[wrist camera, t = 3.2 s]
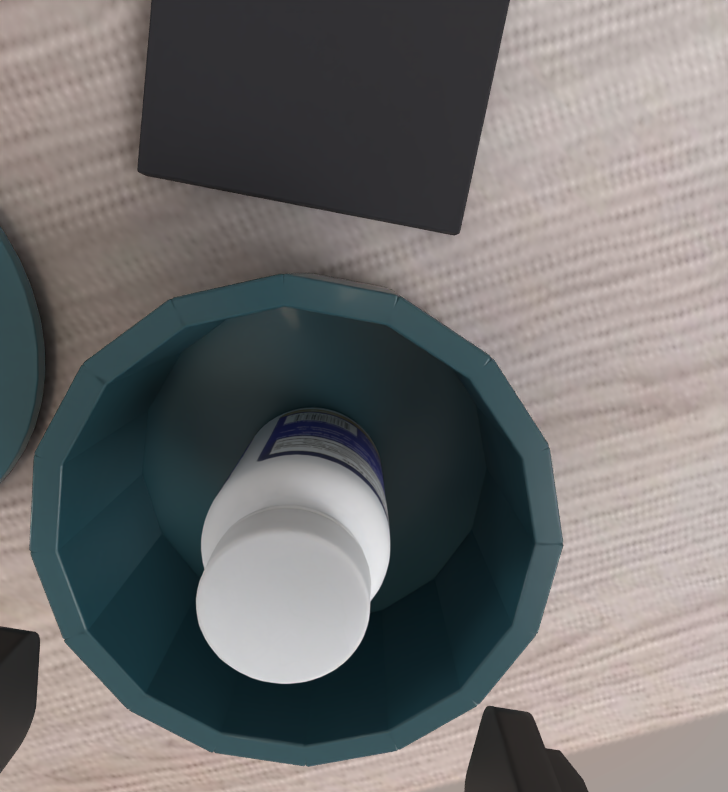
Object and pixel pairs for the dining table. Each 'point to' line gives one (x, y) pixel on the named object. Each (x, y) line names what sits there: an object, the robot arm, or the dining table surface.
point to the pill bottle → (295, 549)
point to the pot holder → (323, 102)
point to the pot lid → (18, 358)
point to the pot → (215, 460)
